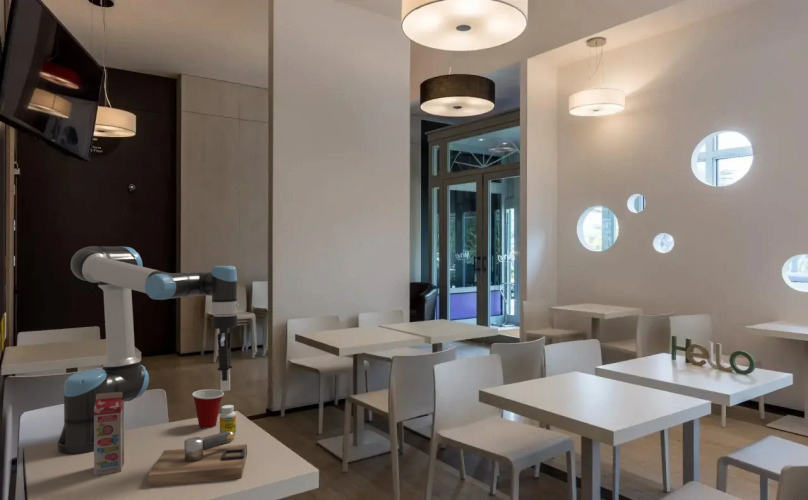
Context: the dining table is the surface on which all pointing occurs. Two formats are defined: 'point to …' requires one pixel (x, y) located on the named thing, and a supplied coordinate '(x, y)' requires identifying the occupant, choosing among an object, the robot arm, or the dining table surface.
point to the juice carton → (108, 433)
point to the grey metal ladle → (205, 444)
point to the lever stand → (199, 466)
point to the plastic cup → (207, 406)
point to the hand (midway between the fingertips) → (225, 390)
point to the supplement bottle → (228, 419)
